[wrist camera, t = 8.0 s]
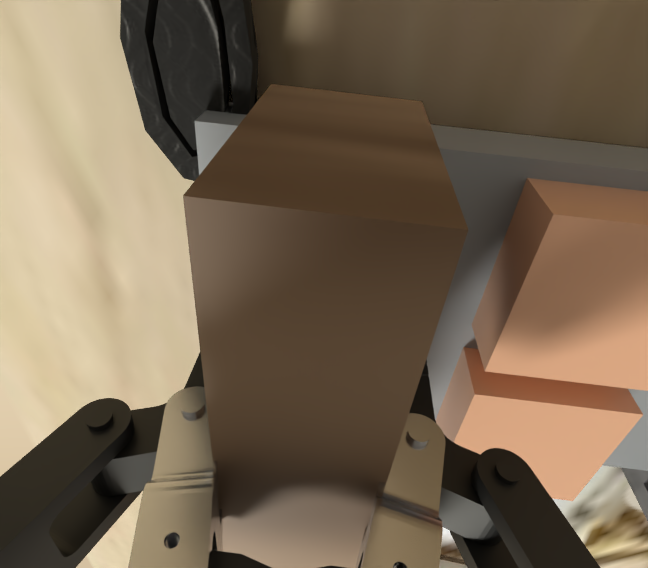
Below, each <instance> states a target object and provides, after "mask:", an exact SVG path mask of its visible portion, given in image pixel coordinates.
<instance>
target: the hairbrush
mask: <svg viewBox="0 0 648 568" xmlns="http://www.w3.org/2000/svg"><path fill="white" fill-rule="evenodd" d="M120 39H121V42H122V46H123V50H124V53H125V57H126V61H127V64H128V68H129V72H130V75H131V79H132V83H133V86H134V90H135V94H136V97H137V101H138V105H139V109H140V112H141V116H142V120H143V123H144V127H145V130H146V132H147V133H148V134H149V135H150V137H151V138H152V139H153V140H154V142H155V143H156V144H157V145H158V147H159V148H160V149H161V150H162V152H163V153H164V154H165V155H166V157H167V158H168V159H169V160H170V162H171V163H172V164H173V165H174V167H175V168H176V169H177V170H178V172H179V173H180V174H181V175H182V177H183V178H185V179H189V180H193V181H195V180H196V179H197V178H198V176H199V167H198V155H197V144H196V133H195V120H196V119H197V118H198V117H199V116H200V115H202V114H203V113H204V112H205V111H206V110H209V111H217V112H225V109H226V104H228V107H229V89H230V79H231V88H232V97H233V107H232V110H231V113H234V114H244V115H247V114H248V113H249V111H250V110H251V109H252V108H253V106H254V105H255V104H256V103H257V79H258V50H257V43H256V36H255V28H254V21H253V14H252V7H251V0H121V27H120Z"/></svg>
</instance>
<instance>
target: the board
mask: <svg viewBox="0 0 648 568" xmlns="http://www.w3.org/2000/svg"><path fill="white" fill-rule="evenodd" d="M232 107H233V102H229V107H228V104H226V109H225V112H217V111H209V110H206V111H205V112H204V113H203V114H202V115H200V116H199V117H198V118H197V119H196V120H195V133H196V144H197V155H198V167H199V175H200V174H201V173H202V171H203V170H204V169H205V168H206V166H207V165H208V164H209V162H210V161H211V160H212V159H213V157H214V156H215V155H216V153H217V152H218V151H219V150H220V148H221V147H222V146H223V145H224V143H225V142H226V141H227V139H228V138H229V137H230V136H231V134H232V133H233V132H234V131H235V129H236V128H237V127H238V125H239V124H240V123H241V122H242V120H243V119H244V118H245V117H246V115H244V114H234V113H231V110H232ZM430 125H431V128H432V130H433V133H434V136H435V139H436V141H437V144H438V147H439V150H440V152H441V155H442V158H443V161H444V164H445V166H446V169H447V172H448V175H449V177H450V180H451V183H452V186H453V188H454V191H455V194H456V197H457V199H458V202H459V205H460V208H461V210H462V213H463V216H464V219H465V222H466V224H467V227H468V233H467V236H466V239H465V242H464V245H463V248H462V252H461V255H460V258H459V261H458V264H457V267H456V270H455V273H454V276H453V279H452V282H451V285H450V288H449V292H448V295H447V298H446V301H445V304H444V307H443V310H442V313H441V316H440V319H439V322H438V325H437V328H436V332H435V335H434V338H433V341H432V344H431V347H430V350H429V353H428V356H427V366H428V373H429V375H428V377H429V380H430V387H431V394H432V401H433V408H434V415H435V420H436V418H437V415H438V413H439V410H440V407H441V405H442V402H443V399H444V397H445V394H446V391H447V389H448V386H449V383H450V381H451V378H452V376H453V373H454V370H455V368H456V365H457V362H458V360H459V357H460V354H461V352H462V349H463V347H466V348H474V349H478V346H477V342H476V339H475V335H474V331H473V328H472V323H473V320H474V317H475V315H476V312H477V309H478V307H479V304H480V301H481V299H482V296H483V293H484V291H485V288H486V285H487V283H488V280H489V278H490V275H491V272H492V270H493V267H494V264H495V262H496V259H497V256H498V254H499V251H500V248H501V246H502V243H503V240H504V238H505V235H506V233H507V230H508V227H509V225H510V222H511V219H512V217H513V214H514V211H515V209H516V206H517V203H518V201H519V198H520V195H521V193H522V190H523V187H524V185H525V182H526V180H527V178H532V179H541V180H550V181H559V182H568V183H577V184H586V185H595V186H604V187H612V188H621V189H630V190H639V191H648V148H640V147H631V146H622V145H613V144H604V143H595V142H586V141H577V140H568V139H559V138H550V137H541V136H532V135H523V134H514V133H505V132H496V131H487V130H478V129H468V128H459V127H450V126H441V125H432V124H430ZM628 390H629V392H630V393H631V395H632V397H633V398H634V400H635V402H636V403H637V405H638V407H639V408H640V410H641V412H642V413H643V416H642V417H641V418H640V419H639V421H638V422H637V423H636V424H635V426H634V427H633V428H632V429H631V430H630V432H629V433H628V434H627V435H626V437H625V438H624V439H623V440H622V441H621V443H620V444H619V445H618V446H617V448H616V449H615V450H614V451H613V452H612V454H611V455H610V456H609V457H608V459H607V460H606V461H605V462H604V463H603V465H604V466H612V467H621V468H629V469H637V470H645V471H648V391H644V390H636V389H628Z"/></svg>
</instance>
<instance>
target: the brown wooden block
mask: <svg viewBox="0 0 648 568" xmlns="http://www.w3.org/2000/svg"><path fill="white" fill-rule="evenodd" d="M183 199H184V208H185V217H186V226H187V235H188V244H189V253H190V262H191V271H192V280H193V289H194V298H195V307H196V316H197V325H198V334H199V343H200V352H201V361H202V370H203V379H204V388H205V396H206V405H207V414H208V423H209V432H210V441H211V450H212V459H213V461H217V463H218V506H219V509H222V513H223V535H222V538H223V552H231V553H238V554H243V555H245V556H247V557H249V558H252V559H254V560H256V561H258V562H260V563H263V564H265V565H267V566H269V567H272V568H319V567H325V566H338V567H346V568H355V566H356V562H357V558H358V554H359V550H360V546H361V542H362V537H363V534H364V531H365V528H367V527H368V523H369V520H370V516H371V512H372V508H373V504H374V500H375V495H376V491H377V488H378V485H379V482H385V483H386V482H387V479H388V476H389V473H390V470H391V467H392V464H393V461H394V458H395V455H396V452H397V449H398V445H399V442H400V439H401V436H402V433H403V430H404V427H405V424H406V421H407V418H408V415H409V412H410V409H411V405H412V402H413V399H414V396H415V393H416V390H417V387H418V384H419V381H420V378H421V375H422V372H423V368H424V365H425V362H426V359H427V356H428V353H429V350H430V347H431V344H432V341H433V338H434V335H435V332H436V328H437V325H438V322H439V319H440V316H441V313H442V310H443V307H444V304H445V301H446V298H447V295H448V292H449V288H450V285H451V282H452V279H453V276H454V273H455V270H456V267H457V264H458V261H459V258H460V255H461V252H462V248H463V245H464V242H465V239H466V236H467V233H468V227H467V224H466V222H465V219H464V216H463V213H462V210H461V208H460V205H459V202H458V199H457V197H456V194H455V191H454V188H453V186H452V183H451V180H450V177H449V175H448V172H447V169H446V166H445V164H444V161H443V158H442V155H441V152H440V150H439V147H438V144H437V141H436V139H435V136H434V133H433V130H432V128H431V125H430V122H429V119H428V117H427V114H426V111H425V108H424V106H423V103H422V101H416V100H407V99H398V98H389V97H381V96H372V95H363V94H355V93H346V92H337V91H328V90H320V89H311V88H302V87H294V86H285V85H276V84H271V85H270V86H269V87H268V89H267V90H266V91H265V92H264V94H263V95H262V96H261V97H260V99H259V100H258V101H257V103H256V104H255V105H254V106H253V108H252V109H251V110H250V111H249V113H248V114H247V115H246V117H245V118H244V119H243V120H242V122H241V123H240V124H239V125H238V127H237V128H236V129H235V131H234V132H233V133H232V134H231V136H230V137H229V138H228V139H227V141H226V142H225V143H224V145H223V146H222V147H221V148H220V150H219V151H218V152H217V153H216V155H215V156H214V157H213V159H212V160H211V161H210V162H209V164H208V165H207V166H206V168H205V169H204V170H203V171H202V173H201V174H200V175H199V176H198V178H197V179H196V180H195V182H194V183H193V184H192V185H191V187H190V188H189V189H188V190H187V192H186V193H185V194H184V196H183Z"/></svg>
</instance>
